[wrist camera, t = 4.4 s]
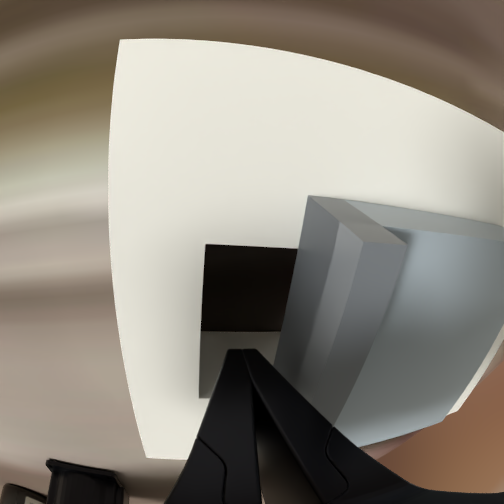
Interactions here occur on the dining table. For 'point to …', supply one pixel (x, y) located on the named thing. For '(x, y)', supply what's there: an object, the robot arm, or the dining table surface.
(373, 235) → the panel
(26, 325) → the dining table surface
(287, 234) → the socket block
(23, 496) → the ink bottle
